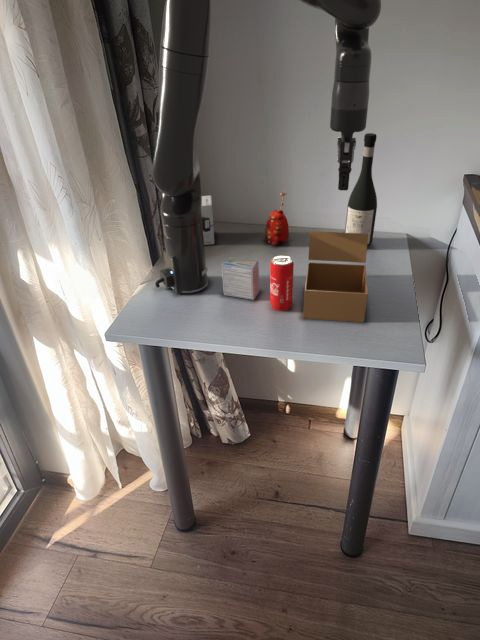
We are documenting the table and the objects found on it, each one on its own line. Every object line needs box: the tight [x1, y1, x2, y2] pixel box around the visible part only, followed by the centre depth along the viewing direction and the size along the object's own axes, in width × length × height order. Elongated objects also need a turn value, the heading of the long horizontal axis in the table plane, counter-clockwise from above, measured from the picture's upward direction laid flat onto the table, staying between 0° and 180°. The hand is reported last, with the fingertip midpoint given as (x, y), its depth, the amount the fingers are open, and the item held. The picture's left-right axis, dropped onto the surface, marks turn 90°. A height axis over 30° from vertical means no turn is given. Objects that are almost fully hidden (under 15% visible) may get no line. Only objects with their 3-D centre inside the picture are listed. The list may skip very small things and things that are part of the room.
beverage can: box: [269, 254, 295, 312], centre depth 110 cm, size 5×5×12 cm
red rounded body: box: [264, 189, 290, 247], centre depth 138 cm, size 8×7×15 cm
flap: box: [307, 230, 368, 264], centre depth 113 cm, size 7×14×1 cm
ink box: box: [201, 195, 216, 246], centre depth 140 cm, size 9×5×12 cm, turn 6°
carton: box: [302, 261, 369, 323], centre depth 111 cm, size 14×14×7 cm
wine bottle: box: [344, 132, 378, 248], centre depth 131 cm, size 8×8×30 cm
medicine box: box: [221, 256, 260, 301], centre depth 115 cm, size 8×4×9 cm, turn 71°
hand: (343, 183), depth 109 cm, fingers open, 8 cm apart
